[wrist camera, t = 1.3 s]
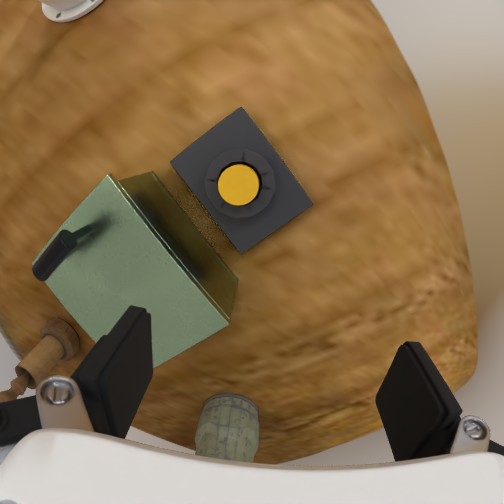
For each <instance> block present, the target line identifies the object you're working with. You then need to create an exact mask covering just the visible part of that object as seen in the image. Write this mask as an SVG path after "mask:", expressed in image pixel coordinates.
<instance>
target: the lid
mask: <svg viewBox="0 0 504 504" xmlns="http://www.w3.org/2000/svg"><path fill="white" fill-rule="evenodd" d="M32 265H33V268H32V271H33V274H34V276H35V277H36V278H37V279H38V280H40V281H45V283H46V284H47V285H48V287H49V288H50V289H51V291H52V292H53V293H54V294H55V296H56V297H57V298H58V300H59V301H60V302H61V303H62V304H63V306H64V307H65V308H66V309H67V311H68V312H69V313H70V314H71V315H72V317H73V318H74V319H75V320H76V321H77V322H78V323H79V325H80V326H81V327H82V328H83V329H84V330H85V331H86V333H87V334H88V335H89V336H90V337H91V338H92V339H93V340H94V341H95V342H96V343H97V342H98V340H99V339H100V338H101V337H102V336H103V335H108V333H109V332H110V331H111V329H112V328H113V327H114V325H115V324H116V323H117V322H118V320H119V319H120V318H121V316H122V315H123V314H124V313H125V311H126V310H127V309H128V307H129V306H130V305H133V306H138V307H142V308H146V310H147V313H150V314H151V329H152V355H153V368H155V367H157V366H158V365H160V364H162V363H164V362H166V361H167V360H169V359H171V358H173V357H174V356H176V355H178V354H180V353H181V352H183V351H185V350H187V349H188V348H190V347H192V346H194V345H195V344H197V343H199V342H200V341H202V340H204V339H206V338H207V337H209V336H211V335H212V334H214V333H216V332H217V331H219V330H221V329H223V328H224V327H226V326H228V325H229V323H230V319H229V318H228V317H227V316H226V315H225V314H224V313H223V311H222V310H221V309H220V308H219V307H218V306H217V304H216V303H215V302H214V301H213V300H212V299H211V298H210V296H209V295H208V294H207V293H206V292H205V291H204V289H203V288H202V287H201V286H200V285H199V283H198V282H197V281H196V280H195V279H194V278H193V276H192V275H191V274H190V273H189V272H188V270H187V269H186V268H185V267H184V265H183V264H182V263H181V262H180V261H179V259H178V258H177V257H176V256H175V255H174V253H173V252H172V251H171V250H170V248H169V247H168V246H167V245H166V243H165V242H164V241H163V240H162V238H161V237H160V236H159V235H158V233H157V232H156V231H155V230H154V228H153V227H152V226H151V225H150V223H149V222H148V221H147V219H146V218H145V217H144V216H143V214H142V213H141V212H140V210H139V209H138V208H137V206H136V205H135V204H134V203H133V201H132V200H131V199H130V197H129V196H128V195H127V193H126V192H125V191H124V189H123V188H122V187H121V185H120V184H119V183H118V181H117V180H116V179H115V177H114V176H113V175H112V174H109V175H107V176H106V177H105V178H104V179H103V180H102V181H101V182H100V183H99V184H98V185H97V186H96V187H95V188H94V189H93V191H92V192H91V193H90V194H89V195H88V196H87V197H86V198H85V199H84V200H83V201H82V203H81V204H80V205H79V206H78V207H77V208H76V209H75V210H74V212H73V213H72V214H71V215H70V216H69V217H68V218H67V220H66V221H65V222H64V223H63V224H62V226H61V227H60V228H59V229H58V230H57V232H56V233H55V234H54V235H53V236H52V238H51V239H50V240H49V241H48V243H47V244H46V245H45V247H44V248H43V249H42V250H41V252H40V253H39V254H38V256H37V257H36V258H35V260H34V261H33V262H32Z"/></svg>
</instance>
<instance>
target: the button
mask: <svg viewBox="0 0 504 504" xmlns="http://www.w3.org/2000/svg"><path fill="white" fill-rule="evenodd" d="M258 188H259V179H258V176H257V174H256V172H255V171H254V170H253V169H252V168H250V167H249V166H246V165H242V164H237V165H233V166H231V167H229V168H227V169H226V170H225V171H224V172H223V173H222V174H221V176H220V178H219V181H218V190H219V193H220V195H221V197H222V198H223V199H224V200H225V201H226V202H228V203H230V204H232V205H238V206H239V205H245V204H247V203H249V202H251V201H252V200H253V199H254V198H255V196H256V195H257V192H258Z"/></svg>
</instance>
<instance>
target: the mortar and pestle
mask: <svg viewBox="0 0 504 504" xmlns="http://www.w3.org/2000/svg"><path fill="white" fill-rule="evenodd" d="M41 339H42V340H41V341H40V342H39V343H38V344H37V345H36V346H35V347H34V348H33V350H32V351H31V352H30V353H29V354H28V355H27V356H26V357H25V358H24V359H23V360H22V361H21V362H20V363H19V364H18V365H17V366H16V367H15V371H16V374H17V376H18V377H17V378H16V379H14V380H13V381H11V388H10V389H9V390H7V391H2V392H0V403H1V402H6V401H11V400H16V399H17V397H18V396H19V395H23V394H24V392H25V390H26V388H27V387H28V388H30V389H36V388H37V386H38V384H39V383H40V382H41V381H42V380H43V379H44V377H45V376H46V375H47V374H48V372H49V371H50V370H51V369H52V368H53V366H54V365H55V364H56V363H57V362H58V361H59V360H63V361H67V360H70V359H71V358H72V357H73V356H74V355H75V353H76V352H77V351H78V349H79V339H78V336H77V334H76V332H75V331H74V329H73V328H72V327H71V326H70V325H69V324H68V323H67V322H65V321H64V320H62V319H59V318H53V319H51V320H50V321H49V322H48V323H47V324H46V325H45V326H44V327H43V328H42V329H41Z"/></svg>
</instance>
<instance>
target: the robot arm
mask: <svg viewBox="0 0 504 504" xmlns="http://www.w3.org/2000/svg"><path fill="white" fill-rule="evenodd" d="M37 1H40V2H42V10H43V13H44V15H45V16H46V17H47V18H49V19H51V20H53V21H56V22H68V21H72V20H75V19H77V18H80V17H81V16H83V15H85V14H87V13H88V12H90V11H91V10H93V9H94V8H95V7H97V6H98V5H99V4H100V3H101V2H102V1H103V0H37ZM152 375H153V355H152V329H151V314H150V313H147V310H146V308H142V307H138V306H133V305H130V306H129V307H128V309H127V310H126V311H125V313H124V314H123V315H122V316H121V318H120V319H119V320H118V322H117V323H116V324H115V325H114V327H113V328H112V329H111V331H110V332H109V333H108V335H103V336H102V337H101V338H100V339H99V340H98V342H97V343H96V344H95V345H94V347H93V348H92V349H91V351H90V352H89V353H88V355H87V356H86V357H85V359H84V360H83V361H82V363H81V364H80V365H79V367H78V368H77V369H76V371H75V372H74V373H73V375H72V376H71V378H69V377H67V376H63V375H53V376H50V377H47V378H45V379H43V380H42V381H41V382H40V383H39V384H38V386H37V388H36V395H35V396H30V397H26V398H21V399H16V400H11V401H6V402H1V403H0V504H504V447H503V446H501V445H499V444H497V443H495V442H493V441H491V440H490V429H489V427H488V425H487V424H486V423H485V422H484V421H483V420H482V419H480V418H479V417H476V416H470V415H469V416H465V417H463V418H462V419H461V418H460V414H461V413H462V409H461V407H460V406H459V404H458V402H457V400H456V399H455V397H454V395H453V394H452V392H451V390H450V389H449V387H448V386H447V384H446V382H445V381H444V379H443V377H442V376H441V374H440V373H439V371H438V370H437V368H436V366H435V365H434V363H433V362H432V360H431V359H430V357H429V356H428V354H427V353H426V351H425V349H424V348H423V346H422V345H421V344H420V343H419V342H409V341H406V342H405V343H404V344H403V345H401V346H400V347H399V348H398V351H397V353H396V355H395V357H394V360H393V362H392V364H391V366H390V368H389V370H388V373H387V375H386V377H385V379H384V381H383V383H382V385H381V387H380V389H379V391H378V393H377V395H376V405H377V408H378V411H379V414H380V416H381V419H382V422H383V425H384V428H385V431H386V434H387V437H388V440H389V443H390V446H391V449H392V453H393V455H394V459H395V462H389V463H378V464H365V465H347V466H291V465H273V464H260V463H249V462H240V461H232V460H224V459H217V458H211V457H205V456H199V455H193V454H188V453H183V452H178V451H173V450H168V449H163V448H159V447H154V446H150V445H146V444H142V443H138V442H134V441H130V440H126V439H125V437H126V434H127V432H128V430H129V428H130V425H131V423H132V421H133V419H134V416H135V414H136V412H137V409H138V407H139V405H140V403H141V400H142V398H143V396H144V394H145V392H146V389H147V387H148V385H149V383H150V381H151V378H152Z"/></svg>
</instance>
